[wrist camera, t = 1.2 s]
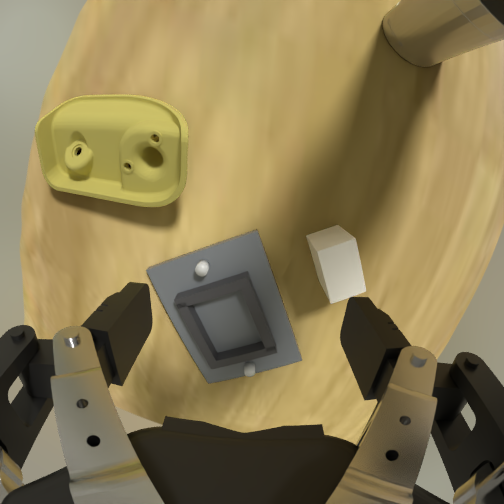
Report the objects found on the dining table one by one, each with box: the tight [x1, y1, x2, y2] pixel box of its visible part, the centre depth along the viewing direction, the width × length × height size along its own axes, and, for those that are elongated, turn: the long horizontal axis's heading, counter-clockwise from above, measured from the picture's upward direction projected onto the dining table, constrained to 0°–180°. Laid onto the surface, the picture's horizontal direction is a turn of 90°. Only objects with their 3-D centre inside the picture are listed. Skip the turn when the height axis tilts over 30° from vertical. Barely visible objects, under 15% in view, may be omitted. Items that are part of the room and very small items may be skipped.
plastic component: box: [35, 95, 188, 207], centre depth 27 cm, size 20×7×10 cm
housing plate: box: [146, 229, 302, 384], centre depth 34 cm, size 14×19×3 cm
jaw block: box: [306, 225, 366, 304], centre depth 30 cm, size 4×6×6 cm, turn 19°
